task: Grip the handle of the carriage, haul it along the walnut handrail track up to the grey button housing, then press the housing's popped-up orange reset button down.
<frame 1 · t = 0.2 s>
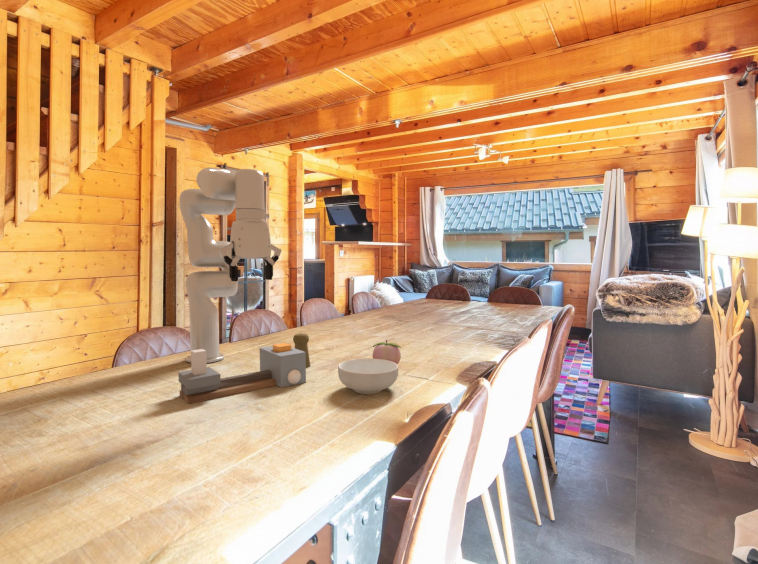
hand: (252, 280, 116), 31 cm above the table, fingers open, 9 cm apart
carriage: (199, 370, 113), point 7 cm above the table, slide at -8.0 cm
grey button housing: (282, 379, 129), on the table
rail track: (229, 390, 119), on the table
cork: (301, 366, 144), on the table
decorative fruit: (386, 370, 139), on the table
reset button: (282, 351, 129), point 8 cm above the table, slide at 0.0 cm
cereal bowl: (368, 390, 119), on the table
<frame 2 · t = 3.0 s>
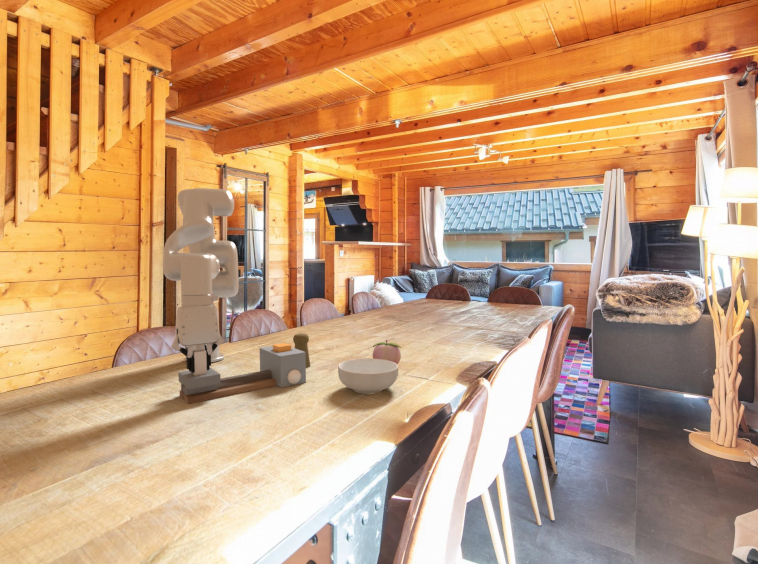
hand: (199, 369, 113), 7 cm above the table, fingers closed on carriage, 3 cm apart
carriage: (199, 370, 113), point 7 cm above the table, slide at -8.0 cm, touching gripper
everything else where it was.
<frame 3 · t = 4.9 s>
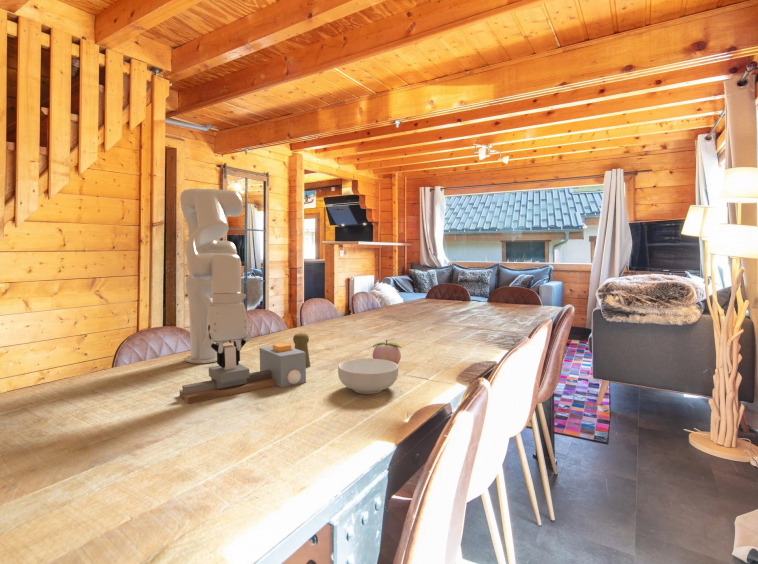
hand: (228, 364, 118), 7 cm above the table, fingers closed on carriage, 3 cm apart
carriage: (228, 365, 118), point 7 cm above the table, slide at -0.1 cm, touching gripper
everything else where it was.
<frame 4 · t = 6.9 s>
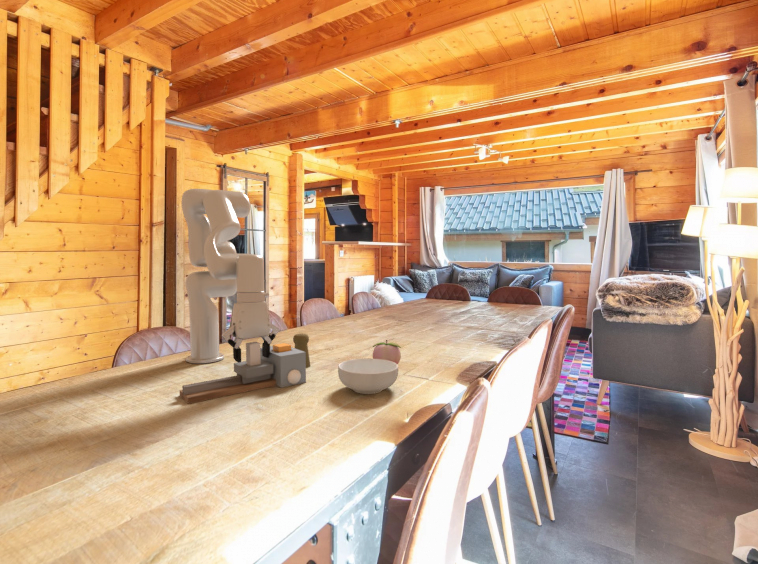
hand: (252, 358, 123), 8 cm above the table, fingers open, 7 cm apart
carriage: (253, 361, 123), point 7 cm above the table, slide at 7.0 cm
everything else where it was.
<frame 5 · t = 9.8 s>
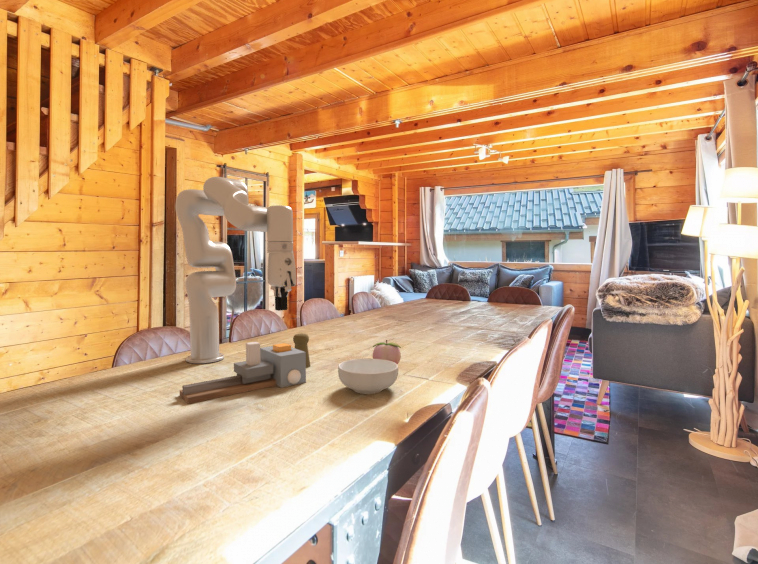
hand: (281, 309, 128), 21 cm above the table, fingers closed
nothing on the table moved.
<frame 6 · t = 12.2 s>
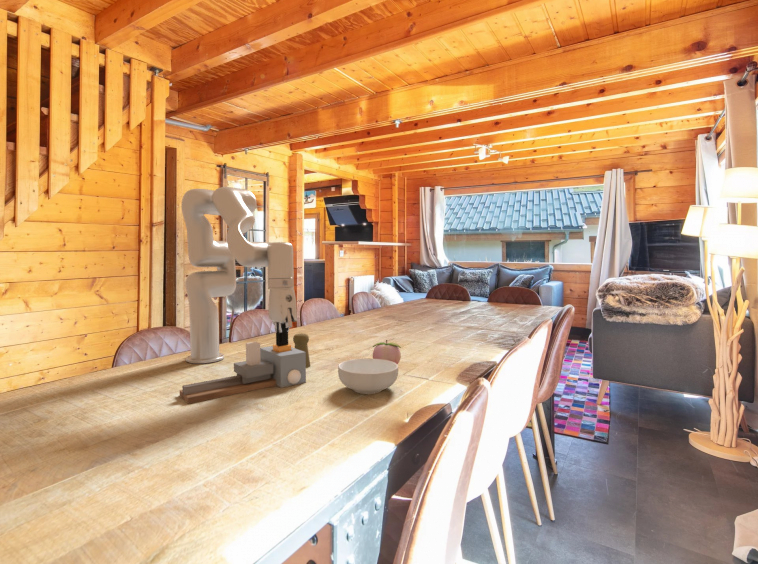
hand: (282, 345, 128), 11 cm above the table, fingers closed
reset button: (282, 351, 129), point 8 cm above the table, slide at 0.0 cm, touching gripper
everything else where it was.
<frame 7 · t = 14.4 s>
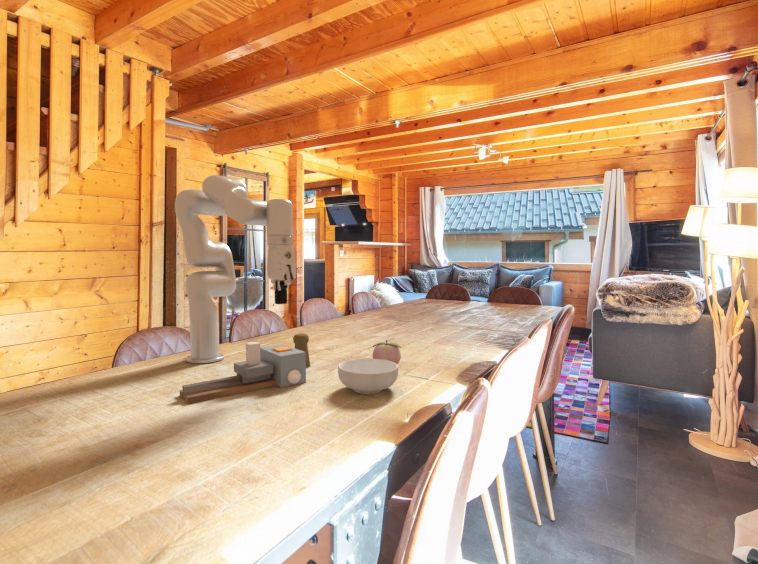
hand: (281, 303, 128), 23 cm above the table, fingers closed
reset button: (282, 355, 129), point 7 cm above the table, slide at 1.1 cm
everything else where it was.
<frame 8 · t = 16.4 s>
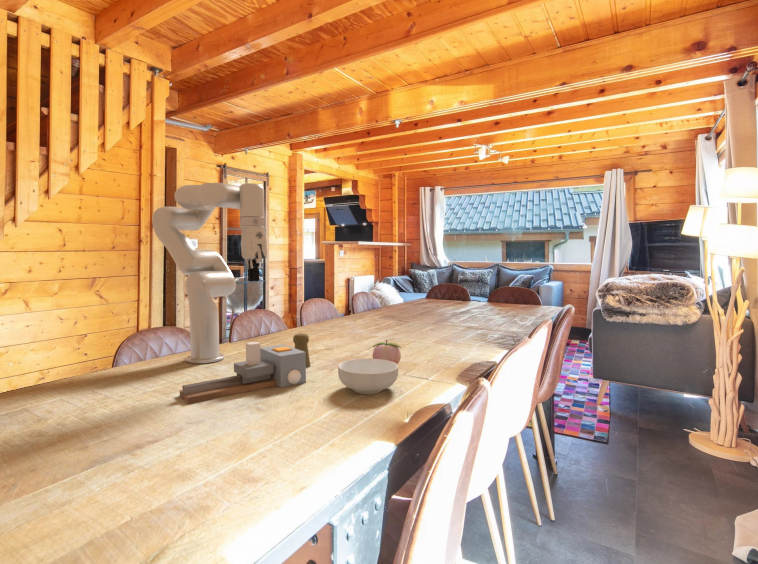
hand: (253, 280, 137), 29 cm above the table, fingers closed
nothing on the table moved.
at the end: carriage slide at 7.0 cm; reset button slide at 1.1 cm; the gripper is holding nothing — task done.
